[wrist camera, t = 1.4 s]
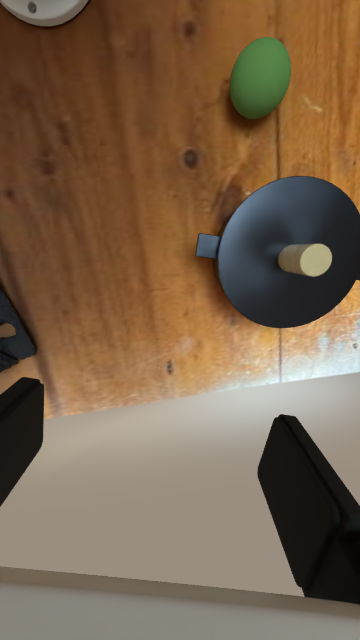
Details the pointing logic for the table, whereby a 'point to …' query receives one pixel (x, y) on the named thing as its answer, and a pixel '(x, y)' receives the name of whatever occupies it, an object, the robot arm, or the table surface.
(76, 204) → the table surface
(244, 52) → the ball
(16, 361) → the dark slate chunk
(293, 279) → the lid
